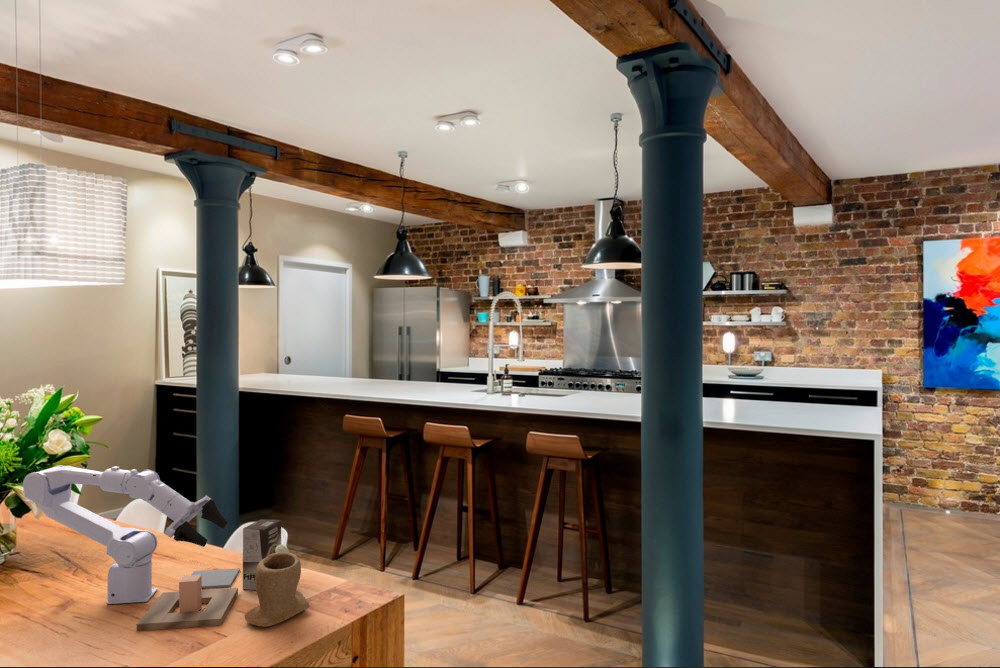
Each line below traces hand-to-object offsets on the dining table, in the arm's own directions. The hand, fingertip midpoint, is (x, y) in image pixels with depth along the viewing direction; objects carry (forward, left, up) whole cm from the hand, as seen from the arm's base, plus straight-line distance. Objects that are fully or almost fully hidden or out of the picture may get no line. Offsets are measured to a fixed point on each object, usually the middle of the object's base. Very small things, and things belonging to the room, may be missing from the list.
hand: (215, 534), depth 167 cm
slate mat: (-4, +14, -16) cm, 22 cm away
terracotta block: (-4, -6, -17) cm, 18 cm away
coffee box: (+10, +9, -17) cm, 21 cm away
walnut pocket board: (-4, -6, -17) cm, 18 cm away
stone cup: (+18, -13, -17) cm, 28 cm away
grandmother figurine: (+16, +1, -17) cm, 23 cm away
